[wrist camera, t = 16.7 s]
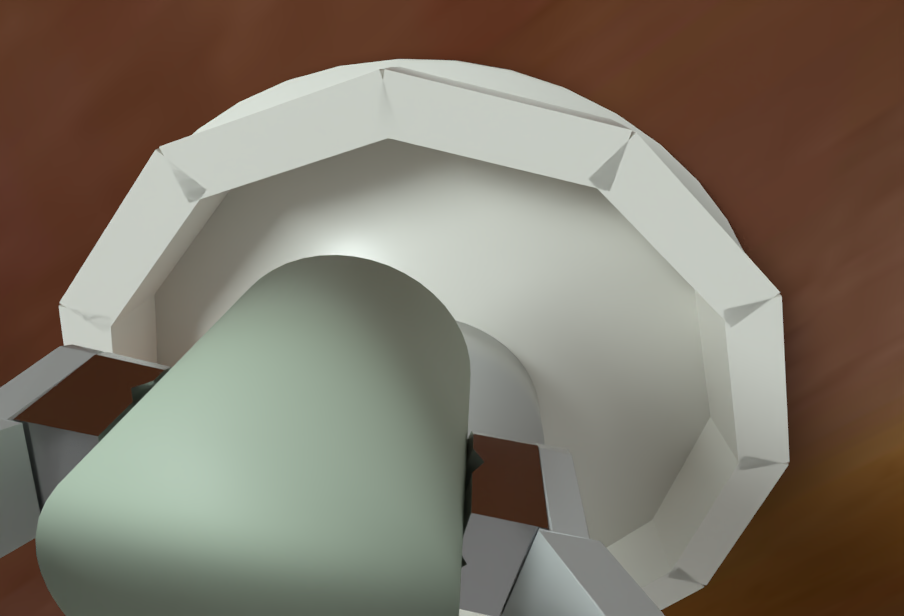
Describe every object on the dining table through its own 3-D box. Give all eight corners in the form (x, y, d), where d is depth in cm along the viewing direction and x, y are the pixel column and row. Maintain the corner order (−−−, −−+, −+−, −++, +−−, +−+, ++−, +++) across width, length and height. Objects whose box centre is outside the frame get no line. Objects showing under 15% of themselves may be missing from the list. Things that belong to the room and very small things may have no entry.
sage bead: (341, 493, 11) (258, 749, 7) (176, 344, 9) (-47, 560, 5) (519, 394, 9) (542, 644, 6) (357, 201, 8) (233, 351, 4)
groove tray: (447, 663, 30) (442, 735, 26) (15, 401, 23) (-59, 457, 20) (888, 401, 20) (962, 464, 17) (384, -166, 14) (354, -231, 11)
